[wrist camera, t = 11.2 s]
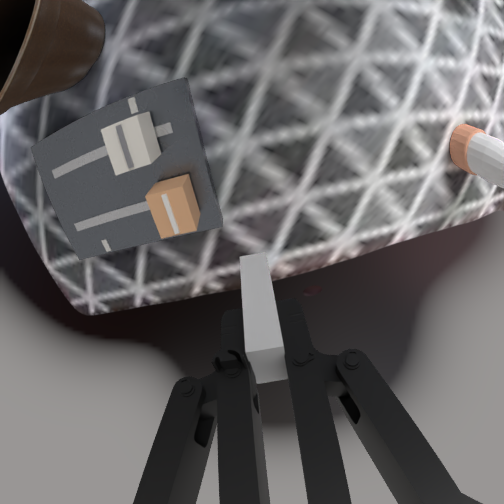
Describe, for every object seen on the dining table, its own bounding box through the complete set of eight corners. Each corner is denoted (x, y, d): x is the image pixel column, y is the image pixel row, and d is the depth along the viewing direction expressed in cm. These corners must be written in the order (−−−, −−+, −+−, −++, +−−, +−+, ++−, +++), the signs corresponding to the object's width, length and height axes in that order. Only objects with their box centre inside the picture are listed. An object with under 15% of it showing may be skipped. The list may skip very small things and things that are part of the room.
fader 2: (155, 182, 28) (144, 197, 25) (188, 173, 28) (182, 187, 24) (168, 221, 31) (160, 240, 27) (200, 213, 31) (196, 232, 27)
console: (39, 143, 25) (29, 147, 23) (187, 78, 24) (183, 77, 22) (84, 252, 35) (78, 260, 33) (222, 219, 34) (222, 227, 32)
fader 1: (116, 123, 24) (99, 130, 20) (149, 111, 24) (135, 115, 20) (129, 164, 27) (114, 176, 23) (161, 154, 26) (150, 164, 23)
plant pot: (19, 31, 15) (-62, 35, 1) (115, -28, 14) (49, -73, 1) (32, 125, 24) (-54, 165, 10) (131, 75, 23) (46, 73, 10)
